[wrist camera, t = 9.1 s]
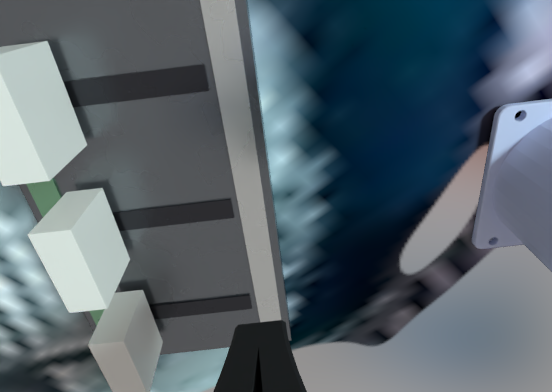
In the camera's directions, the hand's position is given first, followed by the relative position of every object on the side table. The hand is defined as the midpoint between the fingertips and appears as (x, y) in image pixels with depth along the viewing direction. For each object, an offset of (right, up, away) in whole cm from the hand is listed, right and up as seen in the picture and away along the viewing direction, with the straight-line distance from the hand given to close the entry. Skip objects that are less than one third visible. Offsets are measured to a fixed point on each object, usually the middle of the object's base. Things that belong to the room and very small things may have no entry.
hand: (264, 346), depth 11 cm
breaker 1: (-8, +8, +4) cm, 12 cm away
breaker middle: (-8, +3, +7) cm, 11 cm away
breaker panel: (-5, +4, +8) cm, 11 cm away
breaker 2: (-7, -2, +10) cm, 12 cm away
